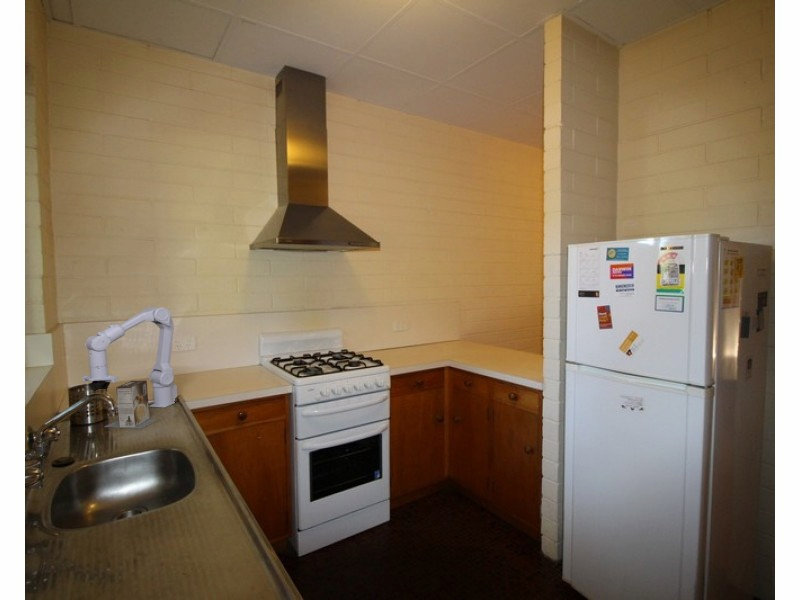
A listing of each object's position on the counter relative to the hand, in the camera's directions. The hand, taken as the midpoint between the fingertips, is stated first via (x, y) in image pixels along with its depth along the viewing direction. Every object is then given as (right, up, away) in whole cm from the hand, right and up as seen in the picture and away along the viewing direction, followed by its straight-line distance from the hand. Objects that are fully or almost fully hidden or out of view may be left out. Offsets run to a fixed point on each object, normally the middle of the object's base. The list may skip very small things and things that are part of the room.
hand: (101, 399), depth 164 cm
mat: (+13, -9, -1) cm, 16 cm away
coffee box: (+15, -9, -2) cm, 17 cm away
